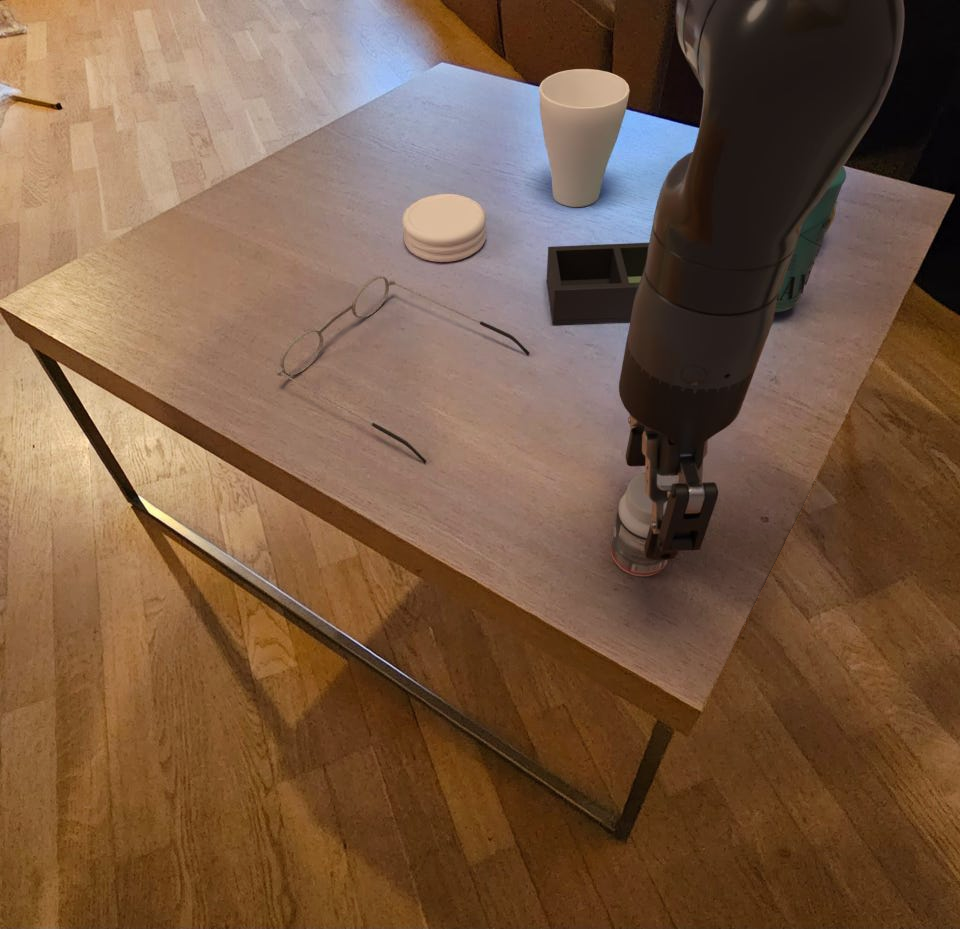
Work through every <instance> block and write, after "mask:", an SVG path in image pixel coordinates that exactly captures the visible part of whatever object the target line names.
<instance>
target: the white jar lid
mask: <svg viewBox="0 0 960 929" xmlns="http://www.w3.org/2000/svg"><path fill="white" fill-rule="evenodd" d="M486 220H487V217H486V212H485V210H484V208H483V207H482V206H481V204H479V203H478V202H477V201H475V200H474V199H472V198H469V197H467V196H465V195H460V194H456V193H455V194H454V193H439V194H433V195H429V196H425V197H423V198H420V199H418V200H416V201H415V202H413V203H412V204H410V205H409V206H408V207H407V208H406V209H405V211H404V212H403V215H402V219H401V224H402V227H403V228H402V233H403V235H404V236H403V241H404V244H405V245H406V248H407V249H408V250H409V251H410V253H412V254H413V255H414V256H416V257H418V258H420V259H422V260H425V261H429V262H437V263H448V262H456V261H460V260H463V259H466V258H469V257H470V256H473V255H474V254H475V253H477V252H478V251H479V250H480V249H482V247H483V246H484V244H485V242H486V239H487V231H486V230H487V224H486Z"/></svg>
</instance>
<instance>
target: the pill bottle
mask: <svg viewBox="0 0 960 929" xmlns="http://www.w3.org/2000/svg"><path fill="white" fill-rule="evenodd" d="M675 483H678V481H676V480H675V479H674V478H673V477H672V476H661V475H659V474H657V485H658V486H664V485H672V484H675ZM666 505H667V501H666V502H665V503H664V509H663V516H664V513H665V509H666ZM651 521H652V500H651V499H650V498H649V497H648V496H647V495H646V493H645V471H643V472H641V473H639V474H637V475H635V476H634V477H632V479H631V480H630V482H629V483H628V486H627V488H626V492H624V494H623V495H622V497H621V498H620V501H619V503H618V507H617V512H616V517H615V522H614V526H613V532H612V537H611V541H610V555H611V557H612V560H613V562H614V563H615V564H616V565H617V566H618V567H619V568H620V569H621V571H624V572H625V573H627V574H628V575H631V576H636V577H650V576H654V575H656V574H658V573H659V572H661V571H662V570H663V569H664V568H665V567H666V565H667V564H668V562H669V560H654V561H653V559H648V558H646V555H645V550H644V546H645V543H646V539H647V536H648V532H649V528H650V525H651Z"/></svg>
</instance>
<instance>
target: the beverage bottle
mask: <svg viewBox="0 0 960 929" xmlns="http://www.w3.org/2000/svg"><path fill="white" fill-rule="evenodd" d="M846 179H847V171H846V169H845V166H843V167H842V169H841V170H840V172H839V173H838V175H837V176H836V178H835V179H834V181H833V182H832V184H831V185H830V187H829V188H828V190H827V191H826V193H825V194H824V196H823V197H822V198H821V199H820V201H819V202H818V203H817V205H816V206H815V207H814V208H813V210H812V211H811V212H810V214H809V215H808V216H807V218H806V219H805V220H804V222H803V223H802V227H801V230H800V234H799V237H798V240H797V243H796V246H795V249H794V252H793V254H792V257H791V260H790V263H789V265H788V268H787V271H786V274H785V276H784V279H783V282H782V284H781V287H780V289H779V293H778V296H777V300H776V306H775V312H774V313H781V312H785V311H788V310H790V309H792V308H793V307H795V305H796V304H797V303H798V302H799V301H800V299H801V298H802V295H804V289H805V287H806V286H807V284H808V282H809V281H808V280H809V279H810V276H811V272H812V270H813V267H814V265H815V263H816V260H817V257H818V256H817V255H818V254H819V253H820V252H819V251H820V250H821V248H820V247H822V244H821V243H823V242H824V241H823V240H824V238H825V234H826V232H828V230H829V228H827V226H828V225H829V224H830V223H829V222H831V221H830V220H831V219H832V217H833V216H832V215H831V214H833V211H834V210H833V209H835V208H834V206H835V204H836V203H837V204H838V203H839V201H838V198H839V195H840V192H841V189H842V187H843V185H844V183H845V181H846ZM836 201H837V202H836ZM831 216H832V217H831ZM830 217H831V219H830ZM828 223H829V224H828ZM826 228H827V229H828V230H826ZM825 230H826V232H825ZM822 241H823V242H822Z"/></svg>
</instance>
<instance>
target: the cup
mask: <svg viewBox="0 0 960 929" xmlns="http://www.w3.org/2000/svg"><path fill="white" fill-rule="evenodd" d="M630 92H631V90H630V85H629V84H628V82H627V81H626V80H625V79H624V78H623V77H621V76H619V75H617V74H614V73H611V72H609V71H605V70H599V69H592V68H591V69H590V68H575V69H567V70H562V71H559V72H555V73H553V74H551V75H549V76H547V77H545V78H544V79H543V80H542V81H541V83H540V84H539V87H538V94H539V97H538V98H539V114H540V121H541V127H542V135H543V141H544V145H545V148H546V152H547V153H546V154H547V158H548V163H549V167H550V169H549V170H550V175H551V185H552V186H551V187H552V188H551V189H552V197H553V199H554V200H555V201H556V202H557V203H558V204H561V205H562V206H566V207H570V208H582V207H588V206H590V205H592V204H594V203H596V202H597V201H598V200H599V198H600V193H601V190H602V184H603V179H604V175H605V172H606V170H607V167H608V164H609V160H610V157H611V156H612V153H613V150H614V148H615V145H616V143H617V141H618V140H617V139H618V137H619V135H620V131H621V128H622V125H623V122H624V119H625V115H626V112H627V107H628V102H629V97H630Z"/></svg>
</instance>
